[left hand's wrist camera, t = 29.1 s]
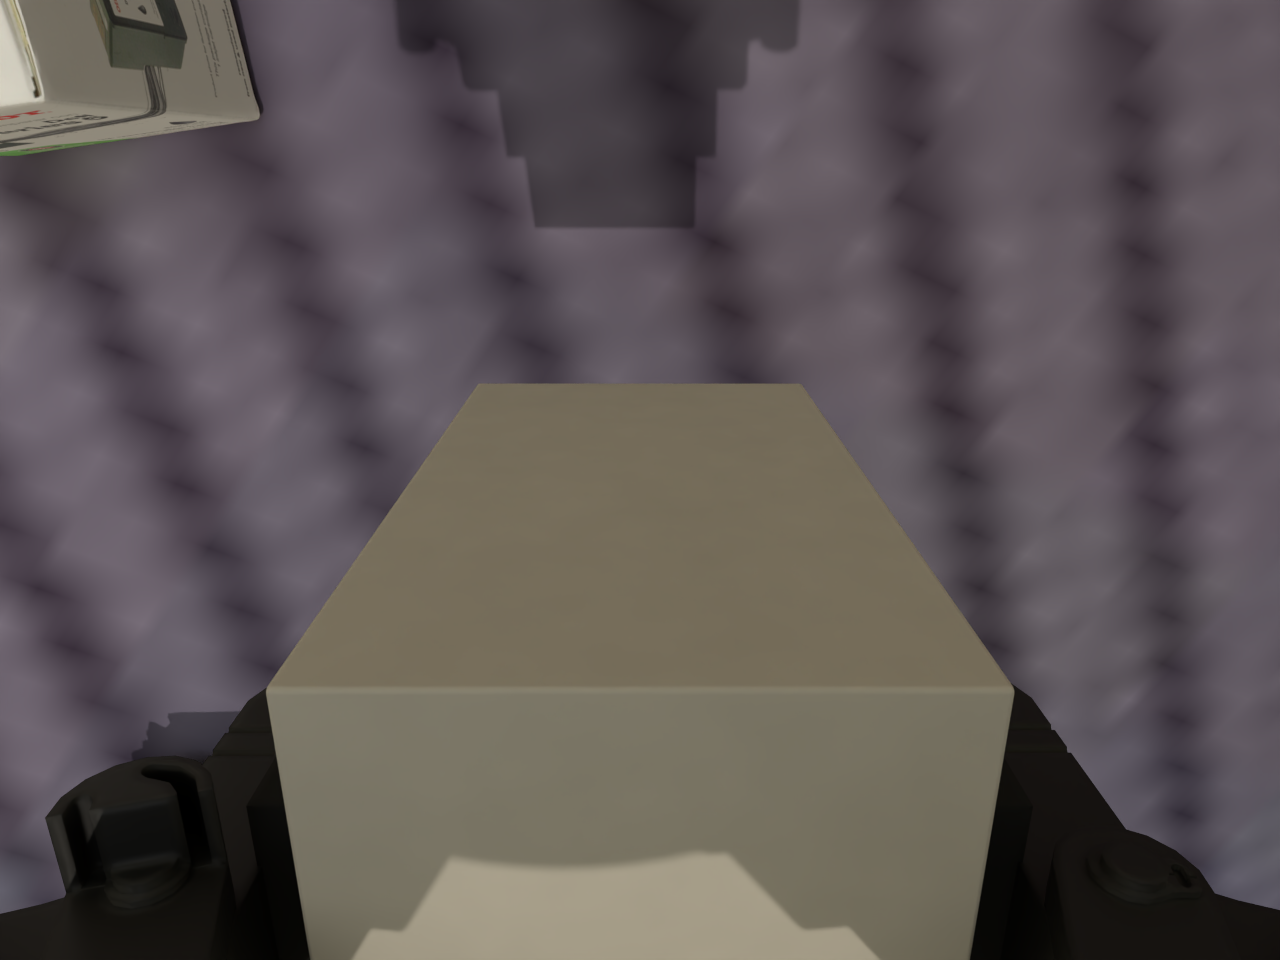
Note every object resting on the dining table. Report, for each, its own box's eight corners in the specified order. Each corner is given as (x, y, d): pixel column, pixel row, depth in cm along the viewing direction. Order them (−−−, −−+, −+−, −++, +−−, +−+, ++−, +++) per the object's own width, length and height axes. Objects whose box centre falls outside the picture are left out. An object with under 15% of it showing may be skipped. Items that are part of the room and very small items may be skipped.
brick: (801, 382, 15) (1018, 688, 7) (782, 686, 17) (927, 1226, 9) (477, 382, 15) (263, 688, 7) (496, 686, 17) (352, 1226, 9)
